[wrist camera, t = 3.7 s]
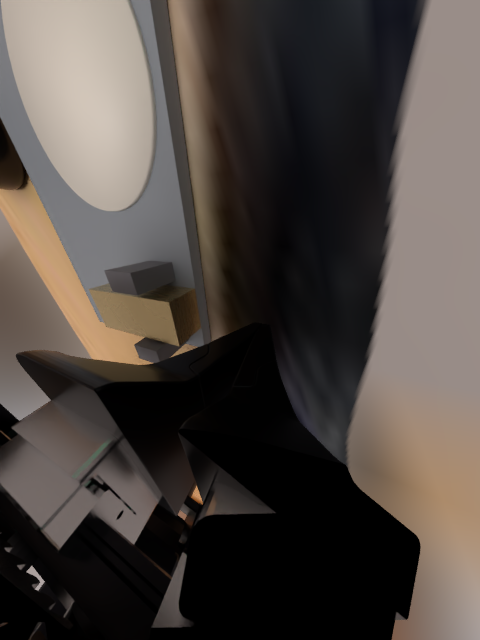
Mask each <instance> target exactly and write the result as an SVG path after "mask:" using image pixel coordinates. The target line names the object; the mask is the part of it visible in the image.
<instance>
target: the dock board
mask: <svg viewBox="0 0 480 640" xmlns="http://www.w3.org/2000/svg"><path fill="white" fill-rule="evenodd" d="M0 118H1V120H2V122H3V124H4V126H5V128H6V130H7V132H8V134H9V136H10V138H11V140H12V142H13V144H14V146H15V148H16V150H17V152H18V155H19V157H20V159H21V161H22V163H23V165H24V167H25V169H26V171H27V173H28V175H29V177H30V179H31V181H32V183H33V185H34V187H35V189H36V191H37V193H38V195H39V198H40V200H41V202H42V204H43V206H44V208H45V210H46V212H47V214H48V216H49V218H50V220H51V222H52V224H53V226H54V228H55V230H56V232H57V234H58V236H59V238H60V240H61V243H62V245H63V247H64V249H65V251H66V253H67V255H68V257H69V259H70V261H71V263H72V265H73V267H74V269H75V271H76V273H77V275H78V277H79V279H80V281H81V283H82V286H83V288H84V290H85V292H86V294H87V296H88V298H89V300H90V302H91V304H92V306H93V308H94V310H95V312H96V314H97V316H98V318H99V320H100V322H104V321H103V319H102V317H101V315H100V313H99V310H98V308H97V306H96V304H95V302H94V300H93V298H92V296H91V294H90V292H89V289H91V288H94V287H98V286H101V285H105V284H108V283H109V284H110V286H111V289H112V291H113V292H118V293H124V294H130V295H137V296H138V295H141V294H143V293H146V292H148V291H151V290H153V289H156V288H158V287H161V286H163V285H169V286H177V287H185V288H194V289H195V293H196V299H197V305H198V311H199V318H200V324H201V328H200V329H199V330H198V331H197V332H196V333H194V334H193V335H192V336H191V337H190V338H189V339H188V340H186V341H185V342H184V343H183V344H182V345H181V346H176V345H172V344H169V343H165V342H161V341H157V340H154V339H150V338H146V337H145V338H144V339H142V340H141V341H139V342H138V343H136V344H135V348H136V350H137V353H138V355H139V358H141V359H144V360H147V361H150V362H153V363H157V362H159V361H162V360H165V359H168V358H170V357H171V356H172V355H173V354H174V353H175V352H176V351H178V350H179V349H180V348H181V347H182V346H183V345H184V344H189V345H193V346H197V347H200V346H202V345H205V344H207V343H209V342H211V336H210V329H209V321H208V313H207V306H206V298H205V290H204V283H203V275H202V267H201V260H200V252H199V245H198V237H197V229H196V222H195V214H194V206H193V199H192V191H191V183H190V176H189V168H188V161H187V153H186V145H185V138H184V130H183V122H182V115H181V107H180V99H179V92H178V84H177V76H176V69H175V61H174V54H173V46H172V38H171V31H170V23H169V15H168V8H167V0H0Z"/></svg>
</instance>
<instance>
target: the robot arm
mask: <svg viewBox="0 0 480 640" xmlns="http://www.w3.org/2000/svg"><path fill="white" fill-rule="evenodd" d="M16 358H17V360H18V362H19V363H20V365H21V366H22V367H23V368H24V370H25V371H26V372H27V373H28V374H29V375H30V377H31V378H32V379H33V380H34V381H35V382H36V383H37V385H38V386H39V387H40V388H41V389H42V390H43V391H44V392H45V394H46V395H47V396H48V397H49V398H50V399H51V401H49V402H48V403H46V404H45V405H43V406H42V407H40V408H39V409H37V410H35V411H34V412H33V413H31V414H30V415H28V416H26V417H25V418H23V419H22V420H20V421H19V420H18V419H16V418H15V417H14V416H13V415H12V414H11V413H10V412H9V411H8V410H7V409H5V408H4V407H3V406H2V405H1V404H0V640H391V639H392V634H393V628H394V623H395V620H407V619H408V616H409V611H410V605H411V600H412V594H413V588H414V583H415V577H416V572H417V566H418V561H419V555H420V542H419V539H418V537H417V536H416V535H415V534H414V533H413V532H412V531H410V530H409V529H408V528H407V527H405V526H404V525H403V524H402V523H401V522H399V521H398V520H397V519H396V518H394V517H393V516H392V515H391V514H390V513H388V512H387V511H386V510H384V509H383V508H382V507H381V506H380V505H379V504H377V503H376V502H375V501H374V500H372V499H371V498H370V497H369V496H367V495H366V494H365V493H364V492H363V491H362V490H360V489H359V487H358V486H357V485H356V484H355V483H354V481H353V480H352V477H351V475H350V473H349V471H348V468H347V466H346V465H345V464H343V463H342V462H340V461H339V460H338V459H337V458H336V457H334V456H333V455H332V454H331V453H330V452H329V451H328V450H327V449H326V448H325V447H324V446H323V445H322V444H321V443H320V442H319V441H318V440H317V439H316V438H315V437H314V436H313V435H312V434H311V433H310V432H309V431H308V430H307V429H306V428H305V427H304V426H303V425H302V424H301V423H300V421H299V420H298V418H297V416H296V414H295V412H294V410H293V408H292V405H291V403H290V400H289V398H288V395H287V392H286V390H285V387H284V385H283V382H282V379H281V376H280V373H279V369H278V364H277V360H276V354H275V349H274V344H273V339H272V333H271V328H270V325H267V324H261V323H256V322H255V323H252V324H250V325H248V326H246V327H243V328H241V329H239V330H237V331H234V332H232V333H230V334H228V335H225V336H223V337H221V338H218V339H216V340H214V341H212V342H209V343H207V344H205V345H202V346H200V347H198V348H195V349H193V350H190V351H188V352H185V353H182V354H179V355H176V356H174V357H171V358H168V359H165V360H162V361H159V362H157V363H153V364H148V365H134V364H126V363H118V362H110V361H102V360H94V359H86V358H79V357H74V356H69V355H65V354H63V353H60V352H57V351H46V350H33V351H25V352H20V353H17V354H16ZM196 485H197V487H198V490H199V492H200V495H201V498H202V501H203V505H202V504H201V503H199V504H198V503H197V502H196V501H195V500H193V499H192V498H191V496H192V494H193V492H194V490H195V488H196ZM180 510H181V511H182V512H183V513H185V514H186V515H187V517H186V519H185V521H184V520H183V519H182V518H180V517H179V516H178V513H179V511H180ZM31 566H33V567H34V568H35V570H36V571H37V572H38V574H39V575H40V576H41V577H42V579H43V580H44V581H45V582H44V584H43V585H42V587H41V588H40V589H39V591H37V590H35V588H36V587H37V586H38V584H39V583H40V581H39V580H38V579H37V578H36V577H35V576H33V575H31V574H29V573H27V572H26V571H27V570H28V569H29V568H30V567H31Z"/></svg>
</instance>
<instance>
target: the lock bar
mask: <svg viewBox="0 0 480 640" xmlns="http://www.w3.org/2000/svg"><path fill="white" fill-rule="evenodd" d="M89 292H90V294H91V296H92V298H93V300H94V302H95V304H96V306H97V308H98V310H99V313H100V315H101V317H102V319H103V321H104V323H105V325H106V327H109V328H113V329H117V330H120V331H124V332H128V333H131V334H135V335H139V336H143V337H146V338H150V339H154V340H157V341H161V342H165V343H169V344H172V345H176V346H181V345H182V344H183V343H184V342H185V341H186V340H188V339H189V338H190V337H191V336H192V335H193V334H194V333H196V332H197V331H198V330H199V329H200V328H201V324H200V318H199V311H198V305H197V299H196V293H195V289H194V288H185V287H177V286H169V285H163V286H161V287H158V288H156V289H153V290H151V291H148V292H146V293H143V294H141V295H138V296H137V295H130V294H124V293H118V292H113V291H112V289H111V286H110V284H109V283H108V284H105V285H101V286H98V287H94V288H91V289H89Z"/></svg>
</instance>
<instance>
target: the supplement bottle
mask: <svg viewBox="0 0 480 640" xmlns="http://www.w3.org/2000/svg"><path fill="white" fill-rule="evenodd" d="M23 182H24V165H23V163H22V161H21V159H20V157H19V155H18V152H17V150H16V148H15V146H14V144H13V142H12V140H11V138H10V136H9V134H8V132H7V130H6V128H5V126H4V124H3V122H2V120H1V118H0V189H7V190H14V189H17V188H19V187H20V186H21V185H22V184H23Z"/></svg>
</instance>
